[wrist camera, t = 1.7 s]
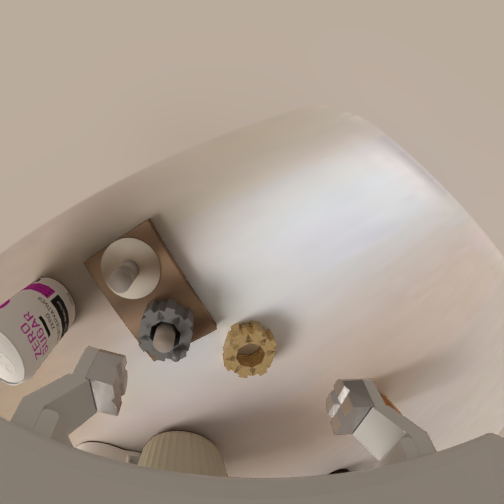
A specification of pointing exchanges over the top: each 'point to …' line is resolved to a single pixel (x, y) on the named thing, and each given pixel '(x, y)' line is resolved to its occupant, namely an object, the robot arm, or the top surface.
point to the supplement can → (32, 328)
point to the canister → (183, 454)
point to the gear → (168, 314)
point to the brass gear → (255, 361)
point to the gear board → (146, 284)
